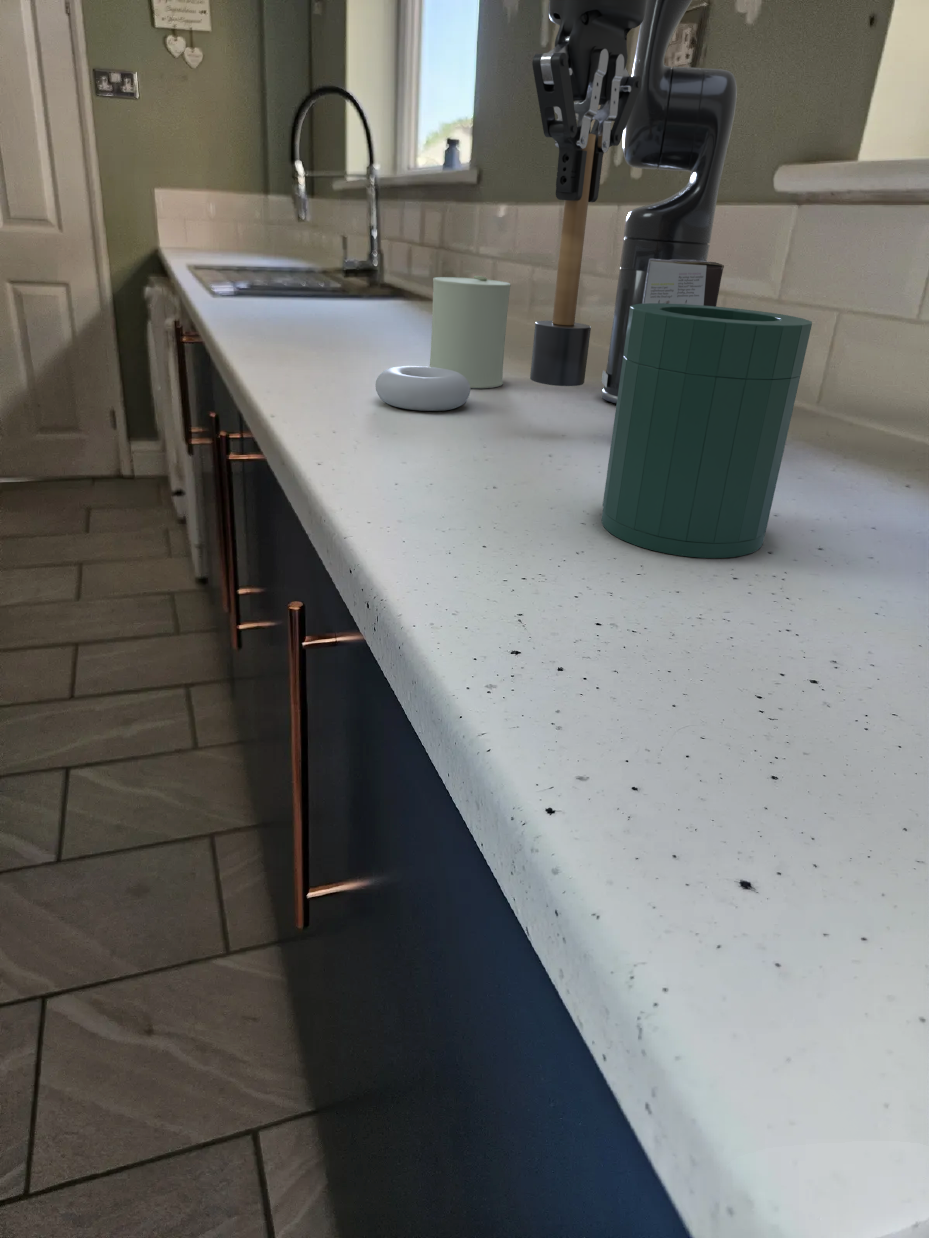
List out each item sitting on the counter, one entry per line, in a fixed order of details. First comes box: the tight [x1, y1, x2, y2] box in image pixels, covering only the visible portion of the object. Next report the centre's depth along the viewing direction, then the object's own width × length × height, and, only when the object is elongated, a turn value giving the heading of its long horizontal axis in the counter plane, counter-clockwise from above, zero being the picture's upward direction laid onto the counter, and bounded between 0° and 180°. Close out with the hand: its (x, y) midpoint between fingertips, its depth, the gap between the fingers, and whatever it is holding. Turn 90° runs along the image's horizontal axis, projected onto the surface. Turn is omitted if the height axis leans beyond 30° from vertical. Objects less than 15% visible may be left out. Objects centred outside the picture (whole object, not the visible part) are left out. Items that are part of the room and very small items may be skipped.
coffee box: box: [642, 259, 725, 307], centre depth 81 cm, size 9×6×16 cm
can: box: [429, 275, 512, 389], centre depth 104 cm, size 9×9×12 cm
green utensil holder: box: [601, 303, 813, 559], centre depth 56 cm, size 11×11×14 cm
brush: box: [529, 134, 596, 387], centre depth 76 cm, size 5×5×20 cm
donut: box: [375, 365, 471, 412], centre depth 91 cm, size 10×4×10 cm
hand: (576, 200), depth 74 cm, fingers closed on brush
